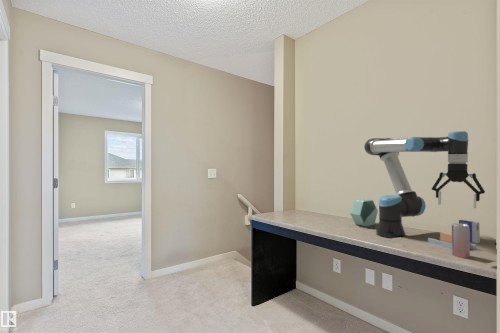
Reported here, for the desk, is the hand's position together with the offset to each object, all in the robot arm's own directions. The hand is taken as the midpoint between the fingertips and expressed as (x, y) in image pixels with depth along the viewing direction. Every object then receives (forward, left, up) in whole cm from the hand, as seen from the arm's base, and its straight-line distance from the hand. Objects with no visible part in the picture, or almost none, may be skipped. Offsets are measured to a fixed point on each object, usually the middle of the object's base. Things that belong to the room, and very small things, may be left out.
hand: (456, 206), depth 125 cm
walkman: (-3, +14, -21) cm, 26 cm away
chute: (-1, -3, -21) cm, 21 cm away
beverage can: (+10, -14, -21) cm, 27 cm away
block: (-1, -3, -20) cm, 20 cm away
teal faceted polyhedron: (-57, -4, -21) cm, 61 cm away
